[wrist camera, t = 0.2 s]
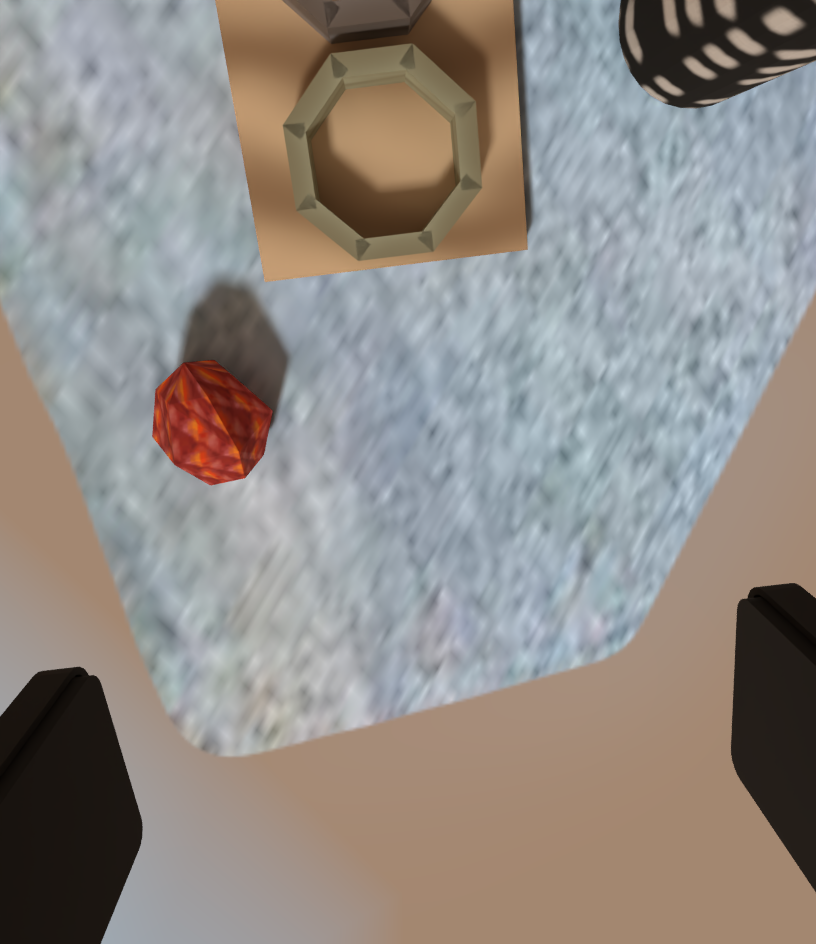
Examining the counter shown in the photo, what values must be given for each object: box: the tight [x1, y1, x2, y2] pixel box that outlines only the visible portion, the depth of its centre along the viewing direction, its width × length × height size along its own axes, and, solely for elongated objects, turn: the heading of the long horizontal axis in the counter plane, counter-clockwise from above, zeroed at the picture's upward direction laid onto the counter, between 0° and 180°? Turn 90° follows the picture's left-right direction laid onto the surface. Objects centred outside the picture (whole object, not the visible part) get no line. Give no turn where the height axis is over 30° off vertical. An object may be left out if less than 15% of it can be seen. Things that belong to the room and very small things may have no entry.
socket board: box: [215, 0, 528, 282], centre depth 32 cm, size 20×14×4 cm
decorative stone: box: [152, 360, 273, 485], centre depth 37 cm, size 6×7×8 cm
